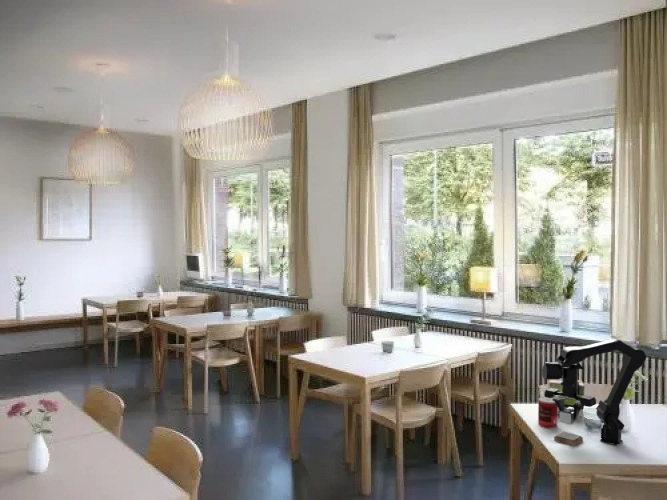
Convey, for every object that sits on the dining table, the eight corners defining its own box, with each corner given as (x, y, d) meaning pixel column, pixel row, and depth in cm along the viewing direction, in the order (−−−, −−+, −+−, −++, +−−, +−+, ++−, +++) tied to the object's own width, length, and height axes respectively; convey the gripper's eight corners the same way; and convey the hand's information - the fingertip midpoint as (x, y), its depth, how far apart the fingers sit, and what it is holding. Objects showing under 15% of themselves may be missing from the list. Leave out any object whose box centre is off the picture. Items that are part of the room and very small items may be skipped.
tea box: (548, 414, 261) (549, 382, 261) (546, 407, 271) (547, 376, 271) (583, 417, 257) (584, 385, 257) (581, 410, 267) (582, 379, 266)
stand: (582, 441, 228) (582, 436, 228) (573, 446, 223) (574, 441, 223) (563, 435, 234) (563, 430, 234) (554, 440, 229) (554, 435, 229)
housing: (578, 420, 229) (579, 407, 229) (570, 424, 224) (570, 411, 224) (567, 417, 232) (568, 405, 232) (559, 421, 227) (559, 408, 227)
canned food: (554, 421, 251) (554, 397, 250) (559, 428, 243) (559, 402, 243) (536, 421, 252) (536, 396, 251) (540, 427, 244) (541, 401, 243)
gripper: (602, 380, 226) (601, 419, 227) (556, 371, 240) (555, 408, 240) (590, 385, 219) (589, 426, 219) (543, 376, 232) (543, 414, 233)
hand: (569, 418), depth 228 cm, fingers closed on housing, 4 cm apart
